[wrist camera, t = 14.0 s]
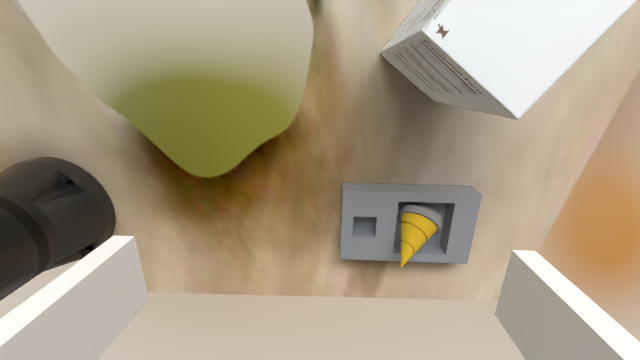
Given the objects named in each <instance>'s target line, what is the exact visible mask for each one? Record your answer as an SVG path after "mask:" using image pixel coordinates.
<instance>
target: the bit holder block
mask: <svg viewBox="0 0 640 360" xmlns="http://www.w3.org/2000/svg"><path fill="white" fill-rule="evenodd" d="M481 196H482V194H480V193H479V192H478V191H477V190H476V189H474V188H473V187H472V186H454V185H418V184H381V183H345V182H342V202H341V226H340V259H352V260H379V261H401V241H402V240H401V222H400V221H399V219H398V215H399V212H400V210H401V208H402V207H403V206H406V203H407V202H427V203H426V204H428V205H429V206H430V207H431V208H433V209H434V210H435V211H436V212H437V213H439V214H440V215H441V216H442V217H441V221H442V226H441V229H440V232H439V233H438V234H436V235H432V236H431V237H430V238H429V239H428V240H427V241H426V242H425V244H424V245H423V246H422V247H421V248H420V249H419V250H418V251H417V252H416V253H415V254H414V255H413V256H412V257H411V258H410V259H409V260H408V261H407V262H434V263H462V264H467V262H468V257H469V253H470V248H471V243H472V239H473V234H474V229H475V225H476V220H477V215H478V211H479V206H480V201H481Z"/></svg>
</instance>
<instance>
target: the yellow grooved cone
mask: <svg viewBox="0 0 640 360" xmlns="http://www.w3.org/2000/svg"><path fill="white" fill-rule="evenodd" d="M426 203H427V202H407V203H406V206H403V207H402V208H401V210H400V212H399V215H398V219H399V221H400V222H401V240H402V241H401V267H403V266H404V264H405V263H406V262H407V261H408V260H409V259H410V258H411V257H412V256H413V255H414V254H415V253H416V252H417V251H418V250H419V249H420V248H421V247H422V246H423V245H424V244H425V242H426V241H427V240H428V239H429V238H430V237H431V236H432V235H436V234H438V233H439V232H440V229H441V226H442V221H441V217H442V216H441V215H440V214H439V213H437V212H436V211H435V210H434V209H433V208H431V207H430V206H429V205H428V204H426Z"/></svg>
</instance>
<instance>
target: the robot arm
mask: <svg viewBox="0 0 640 360" xmlns="http://www.w3.org/2000/svg"><path fill="white" fill-rule="evenodd" d="M114 224H115V215H114V209H113V206H112V203H111V201H110V198H109V197H108V195H107V193H106V191H105V190H104V189H103V187H102V186H101V185H100V184H99V182H98V181H97V180H96V179H95V178H94V177H93V176H91V175H90V174H89V173H88V172H86V171H85V170H84V169H82V168H80V167H79V166H77V165H75V164H73V163H71V162H68V161H65V160H62V159H58V158H52V157H39V158H34V159H30V160H27V161H23V162H20V163H17V164H14V165H12V166H10V167H8V168H7V169H5V170H4V171H2V172H1V173H0V301H1V300H2V299H4V298H5V297H6V296H8V295H9V294H11V293H12V292H14V291H15V290H17V289H18V288H19V287H21V286H23V285H24V284H25V283H27V282H28V281H30V280H31V279H33V278H34V277H35V276H37V275H38V274H40V273H42V272H43V271H46V270H49V269H52V268H55V267H58V266H61V265H64V264H67V263H70V262H73V261H76V260H79V259H81V260H80V261H78V262H77V263H76V264H74V265H73V266H72V267H70V268H69V269H68V270H66V271H65V272H64V273H62V274H61V275H60V276H58V277H57V278H56V279H54V280H53V281H51V282H50V283H49V284H47V285H46V286H45V287H43V288H42V289H41V290H39V291H38V292H36V293H35V294H34V295H32V296H31V297H30V298H28V299H27V300H26V301H24V302H23V303H22V304H20V305H19V306H17V307H16V308H15V309H13V310H12V311H11V312H9V313H8V314H7V315H5V316H4V317H2V318H1V319H0V360H99V359H100V358H101V356H102V355H103V354H104V353H105V352H106V350H107V349H108V348H109V347H110V345H111V344H112V343H113V342H114V341H115V339H116V338H117V337H118V336H119V334H120V333H121V332H122V331H123V330H124V328H125V327H126V326H127V325H128V323H129V322H130V321H131V319H133V317H134V316H135V315H136V314H137V313H138V311H139V310H140V309H141V307H142V306H143V305H144V304H145V303H146V302H147V300H148V294H147V290H146V285H145V281H144V276H143V272H142V267H141V263H140V258H139V253H138V249H137V244H136V240H135V236H112V237H111V235H112V233H113V230H114ZM110 237H111V238H110ZM109 238H110V239H109ZM82 258H83V259H82ZM495 315H496V317H497V318H498V320H499V321H500V323H501V324H502V326H503V327H504V328H505V330H506V331H507V333H508V334H509V336H510V337H511V339H512V340H513V342H514V343H515V345H516V346H517V348H518V349H519V350H520V352H521V354H522V355H523V357H524V358H525V359H526V360H640V342H639V341H638V340H637V339H636V338H634V337H633V336H632V335H631V334H630V333H629V332H627V331H626V330H625V329H624V328H623V327H622V326H621V325H619V324H618V323H617V322H616V321H615V320H614V319H613V318H611V317H610V316H609V315H608V314H607V313H606V312H605V311H603V310H602V309H601V308H600V307H599V306H598V305H597V304H595V303H594V302H593V301H592V300H591V299H590V298H589V297H587V296H586V295H585V294H584V293H583V292H581V291H580V290H579V289H578V288H577V287H576V286H575V285H574V284H572V283H571V282H570V281H569V280H568V279H567V278H565V277H564V276H563V275H562V274H561V273H560V272H559V271H557V270H556V269H555V268H554V267H553V266H552V265H551V264H550V263H548V262H547V261H546V260H545V259H544V258H543V257H542V256H540V255H539V254H538V253H537V252H536V251H523V250H512V253H511V256H510V260H509V264H508V267H507V271H506V275H505V278H504V282H503V286H502V289H501V293H500V297H499V300H498V304H497V308H496V311H495Z"/></svg>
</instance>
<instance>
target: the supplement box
mask: <svg viewBox="0 0 640 360" xmlns="http://www.w3.org/2000/svg"><path fill="white" fill-rule="evenodd" d="M635 2H636V0H420V1H419V2H418V3H417V5H416V6H415V7H414V9H413V10H412V11H411V12H410V14H409V15H408V16H407V18H406V19H405V20H404V21H403V23H402V24H401V25H400V27H399V28H398V29H397V31H396V32H395V33H394V34H393V36H392V37H391V38H390V40H389V41H388V42H387V44H386V45H385V46H384V48H383V49H382V50H381V52H380V53H381V55H382V56H383V57H384V58H385V59H386V60H388V61H389V62H390V63H391V64H392V65H393V66H394V67H395V68H396V69H397V70H399V71H400V72H401V73H402V74H403V75H404V76H405V77H407V78H408V79H409V80H410V81H411V82H412V83H413V84H414V85H416V86H417V87H418V88H419V89H420V90H421V91H423V92H424V93H425V94H426V95H427V96H429V97H430V98H431V99H432V100H433V101H435V102H439V103H444V104H448V105H453V106H457V107H462V108H467V109H471V110H475V111H480V112H484V113H489V114H494V115H498V116H503V117H507V118H512V119H519V118H520V117H521V116H522V115H523V114H524V113H525V112H526V111H527V110H528V109H529V108H530V107H531V106H532V105H533V104H534V103H535V102H536V101H537V100H538V99H539V98H540V97H541V96H542V95H543V94H544V93H545V92H546V91H547V90H548V89H549V88H550V87H551V86H552V85H553V84H554V83H555V82H556V81H557V80H558V79H559V78H560V77H561V76H562V75H563V74H564V73H565V72H566V71H567V70H568V69H569V68H570V67H571V66H572V65H573V64H574V63H575V62H576V61H577V60H578V59H579V58H580V57H581V56H582V55H583V54H584V53H585V52H586V51H587V50H588V49H589V48H590V47H591V46H592V45H593V44H594V43H595V42H596V41H597V40H598V39H599V38H600V37H601V36H602V34H604V33H605V32H606V31H607V30H608V29H609V28H610V27H611V26H612V25H613V24H614V23H615V22H616V21H617V20H618V19H619V18H620V17H621V16H622V15H623V14H624V13H625V12H626V11H627V10H628V9H629V8H630V7H631V6H632V5H633V4H634V3H635Z"/></svg>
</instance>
